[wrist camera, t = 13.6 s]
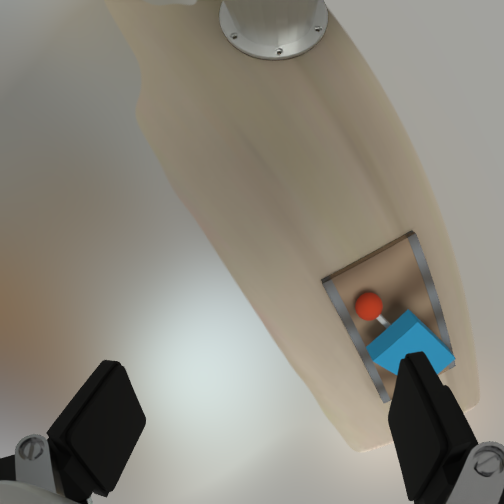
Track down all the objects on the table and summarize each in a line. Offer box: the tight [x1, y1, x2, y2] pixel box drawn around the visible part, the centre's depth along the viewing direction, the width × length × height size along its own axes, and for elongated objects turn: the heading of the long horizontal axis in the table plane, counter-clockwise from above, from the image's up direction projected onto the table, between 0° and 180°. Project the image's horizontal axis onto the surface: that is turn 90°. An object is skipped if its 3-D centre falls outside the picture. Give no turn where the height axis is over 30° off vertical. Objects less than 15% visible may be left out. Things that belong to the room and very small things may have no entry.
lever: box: [355, 292, 455, 375], centre depth 36 cm, size 7×7×18 cm
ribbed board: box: [322, 231, 456, 403], centre depth 38 cm, size 24×13×1 cm, turn 31°
